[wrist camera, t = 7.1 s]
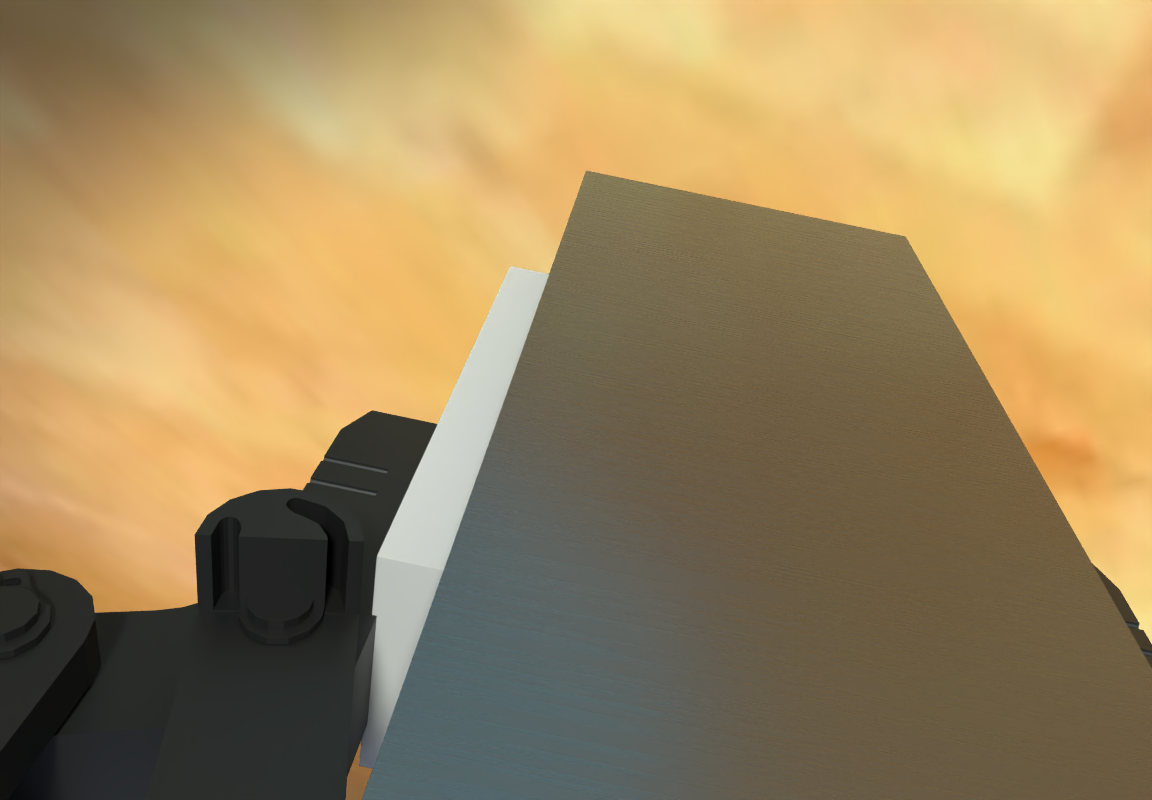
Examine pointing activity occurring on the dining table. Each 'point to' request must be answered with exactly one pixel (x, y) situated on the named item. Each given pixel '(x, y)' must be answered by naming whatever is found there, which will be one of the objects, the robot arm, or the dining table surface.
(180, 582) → the dining table surface
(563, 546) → the grey block with bar
